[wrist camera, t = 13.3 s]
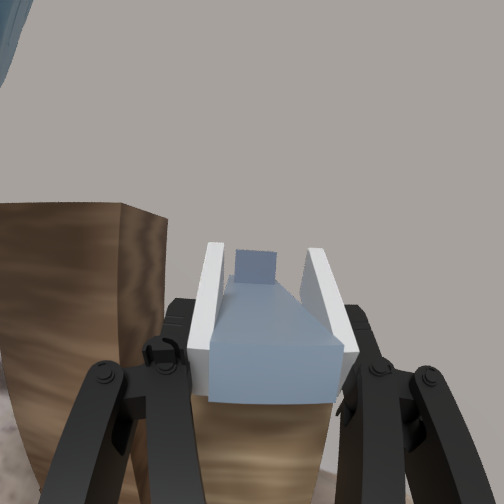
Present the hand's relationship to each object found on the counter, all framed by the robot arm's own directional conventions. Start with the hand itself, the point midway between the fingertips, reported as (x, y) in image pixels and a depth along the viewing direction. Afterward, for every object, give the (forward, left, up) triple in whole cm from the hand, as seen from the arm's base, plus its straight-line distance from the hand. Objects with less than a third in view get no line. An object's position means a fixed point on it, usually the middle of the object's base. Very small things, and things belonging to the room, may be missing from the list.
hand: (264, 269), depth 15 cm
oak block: (-4, +5, -27) cm, 27 cm away
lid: (-2, +3, -4) cm, 5 cm away
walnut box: (-19, 0, -27) cm, 32 cm away
